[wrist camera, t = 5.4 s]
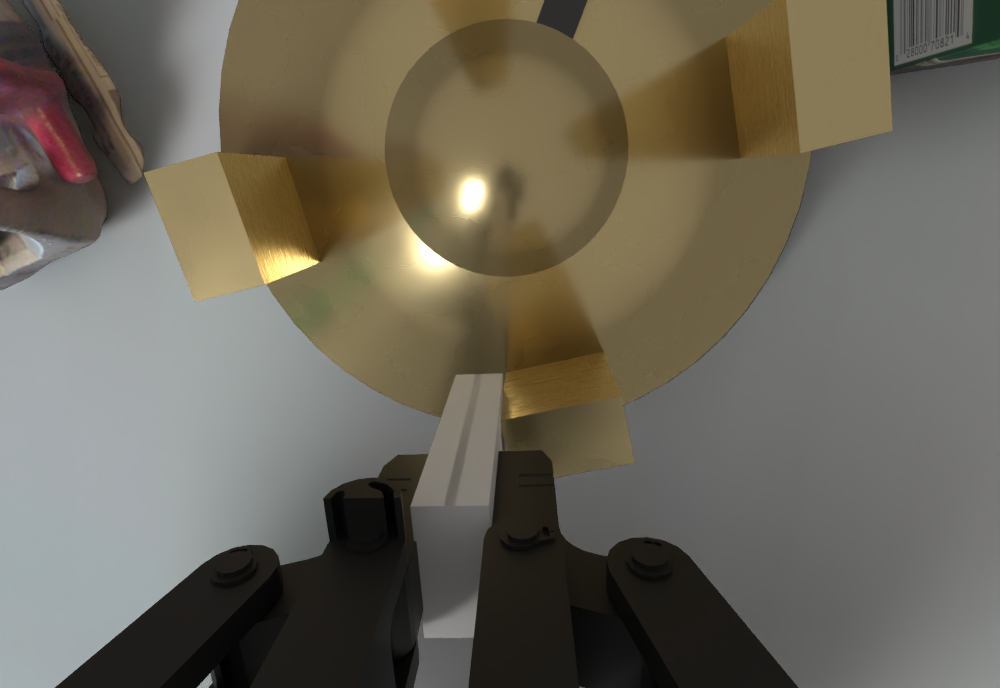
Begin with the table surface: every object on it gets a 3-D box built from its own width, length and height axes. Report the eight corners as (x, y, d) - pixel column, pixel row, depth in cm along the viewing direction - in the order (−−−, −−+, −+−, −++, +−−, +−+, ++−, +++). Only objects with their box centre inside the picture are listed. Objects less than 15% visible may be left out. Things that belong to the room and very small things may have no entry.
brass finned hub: (733, -221, 15) (875, -503, 9) (792, 339, 19) (915, 418, 13) (193, -43, 17) (-5, -170, 11) (355, 429, 21) (281, 535, 15)
